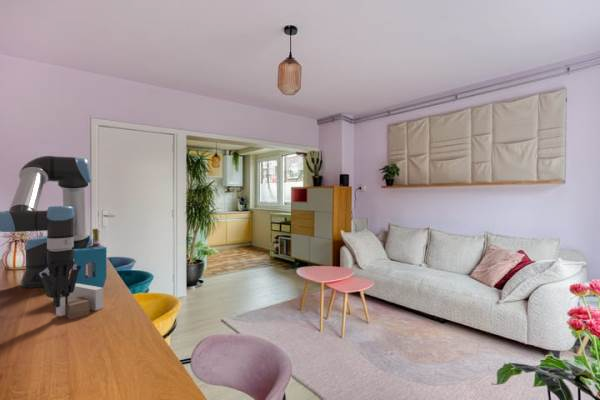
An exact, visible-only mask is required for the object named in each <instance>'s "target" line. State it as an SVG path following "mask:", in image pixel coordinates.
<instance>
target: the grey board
mask: <svg viewBox="0 0 600 400" xmlns="http://www.w3.org/2000/svg"><path fill="white" fill-rule="evenodd" d="M61 296H62V295H61ZM77 297H84V298H85V299H87V300H89V311H95V312H96V311H99V310H101V309H104V287H103V288H101V287H96V286H90V285H85V284H79V283H76V284H75V288H74V291H73V293H70V295H69V296H68V299H72V298H77Z"/></svg>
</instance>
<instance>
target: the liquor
mask: <svg viewBox="0 0 600 400" xmlns="http://www.w3.org/2000/svg"><path fill="white" fill-rule="evenodd" d="M92 237H93V238H92V246H90V247H88V248H94V247H105V246H103V244H102V245H101V243H100V241H101V240H100V228H92ZM87 273H88V274H87V275H88V277H93V275H94V274H95V263H93V262H92V261H90V262H89V263H88V264H87Z"/></svg>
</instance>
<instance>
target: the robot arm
mask: <svg viewBox="0 0 600 400" xmlns="http://www.w3.org/2000/svg"><path fill="white" fill-rule="evenodd" d="M90 166H91V165H90V163H89V160H88V159H86V158H84V157H82V158H81V157H77V156H56V155H54V156H53V155H44V156H43V155H42V156H40V157H36V158H33V159H32V160H30V161H28V162H26V164H24V165H23V166H22V168H21V169H20V171H19V174H18V178H19V180H20V181H19V183H18V185H17V189H16V191H15V193H14V197H13V199H12V201H11V205H10V207H9V210H4V211H0V232H1V233H21V232H22V233H23V232H38V231H39V232H44V231H46V232H47V233H46V234H47V235H43V236H42V235H41V236H38V237H37V236H36V237H32V238H29V239H28V240H26V242H25V248H24V250H25V270H24V273H23V275H22V278H21V280H20V287H21V288H31V289H32V288H41V287H44V291H45V293H46V297H47V298H50V299H51V298H52V299H53V308H55V316H59V317H62V316H65V305H66V304H67V303H68V296H69V295H70V293H73V291H74V288H75V284H76V280H77V275H78V272H79V270H80V268H81V266H80V265H76V264H74V249H82V248H88V247H90V246H92V244H93V235H90V233H89V231H87V230H86V202H85V201H86V199H85V198H86V197H85V190H86V188H88V186H89V184H90V183H92V181H93V179H92V172H91V170H92V169H91V167H90ZM48 182H57V184H58V185H57V187H59V188H60V189H62V205H53V206H51V205H50V206H48V207H47V209H46V210H38V206H39V202H40V199H41V196H42V192H43V188H44V185H45V184H46V183H48ZM61 295H62V296H61Z"/></svg>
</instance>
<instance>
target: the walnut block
mask: <svg viewBox="0 0 600 400" xmlns="http://www.w3.org/2000/svg"><path fill="white" fill-rule="evenodd" d="M89 315H90V309H89V300H87V299H85V298H84V297H77V298H72V299H68V303H67V304H66V305H65V315H64V316H65V317H66V318H68V319H69V320H72V319H73V320H74V319H77V318H80V317H84V316H89Z"/></svg>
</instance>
